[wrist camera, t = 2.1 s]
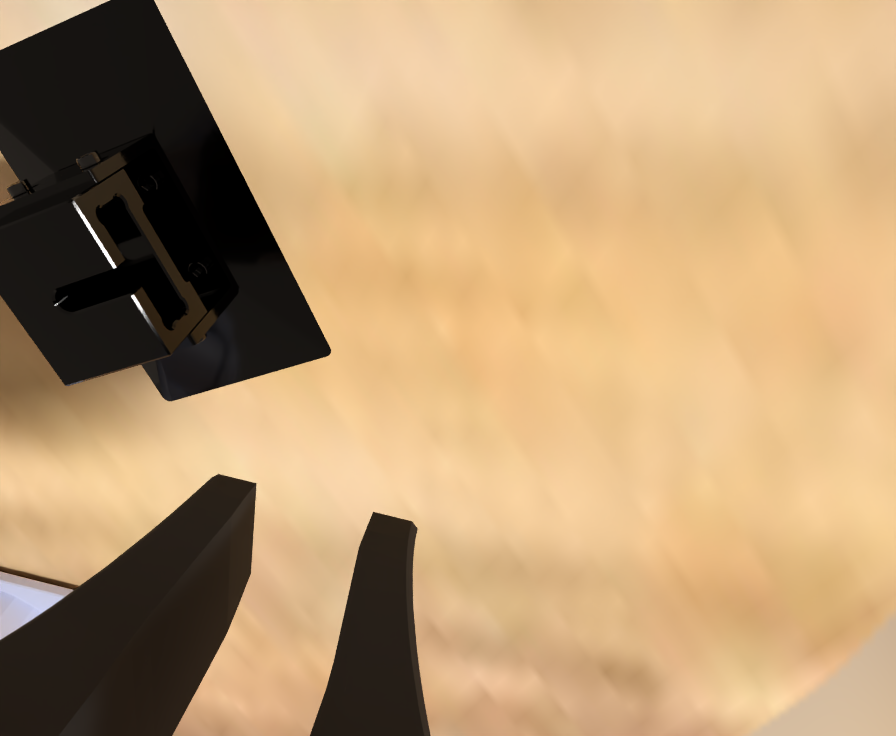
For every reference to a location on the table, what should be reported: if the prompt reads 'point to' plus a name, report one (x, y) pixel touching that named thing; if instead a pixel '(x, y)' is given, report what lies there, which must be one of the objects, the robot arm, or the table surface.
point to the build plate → (136, 215)
